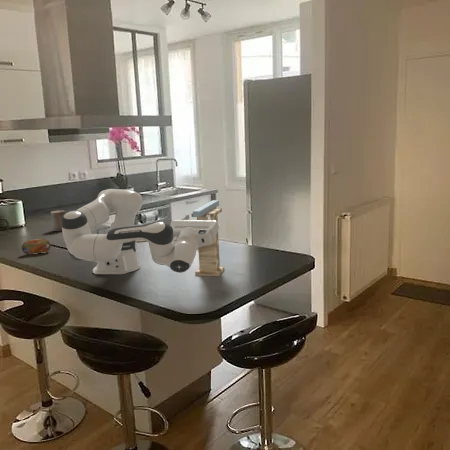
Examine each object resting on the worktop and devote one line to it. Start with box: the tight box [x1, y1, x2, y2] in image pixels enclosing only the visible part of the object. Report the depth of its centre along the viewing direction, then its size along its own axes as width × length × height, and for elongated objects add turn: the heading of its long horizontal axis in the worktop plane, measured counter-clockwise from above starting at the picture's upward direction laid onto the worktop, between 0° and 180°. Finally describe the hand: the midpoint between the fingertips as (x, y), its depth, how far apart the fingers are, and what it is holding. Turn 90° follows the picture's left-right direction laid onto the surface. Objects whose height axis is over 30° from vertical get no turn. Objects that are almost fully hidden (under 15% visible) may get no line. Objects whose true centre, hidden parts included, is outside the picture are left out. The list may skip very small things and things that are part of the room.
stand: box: [191, 207, 225, 277], centre depth 212 cm, size 14×11×29 cm
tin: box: [21, 238, 51, 255], centre depth 262 cm, size 15×3×8 cm, turn 109°
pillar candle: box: [49, 209, 66, 232], centre depth 324 cm, size 10×10×15 cm
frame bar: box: [192, 199, 220, 218], centre depth 209 cm, size 30×3×2 cm, turn 165°
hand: (198, 215), depth 196 cm, fingers open, 8 cm apart
